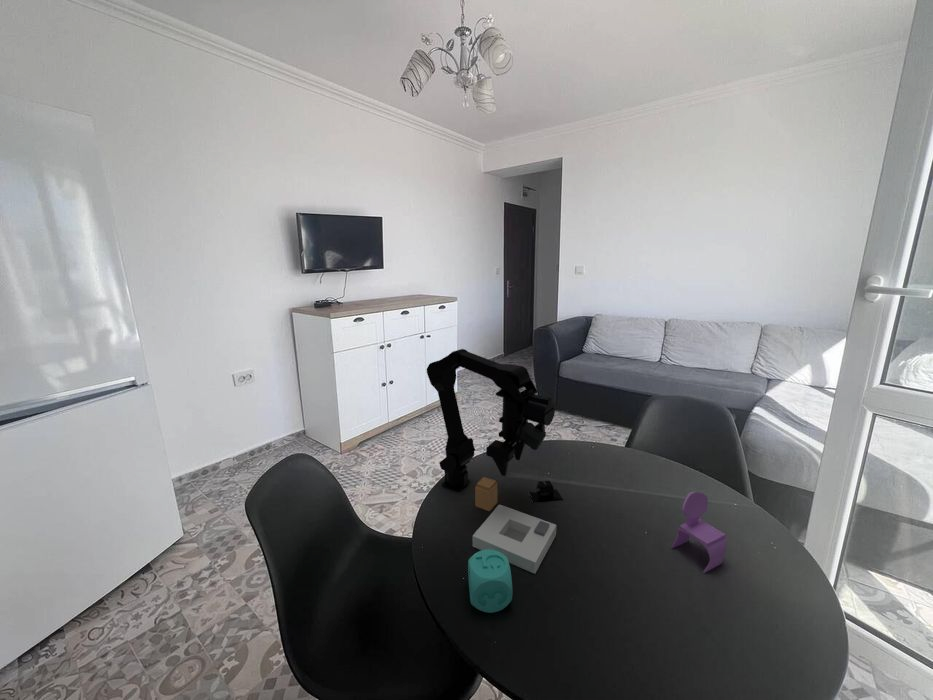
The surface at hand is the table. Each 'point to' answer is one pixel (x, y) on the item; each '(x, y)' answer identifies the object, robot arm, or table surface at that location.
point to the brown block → (486, 494)
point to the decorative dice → (489, 581)
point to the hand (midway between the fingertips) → (510, 467)
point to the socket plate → (516, 537)
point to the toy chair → (701, 529)
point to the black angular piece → (545, 493)
